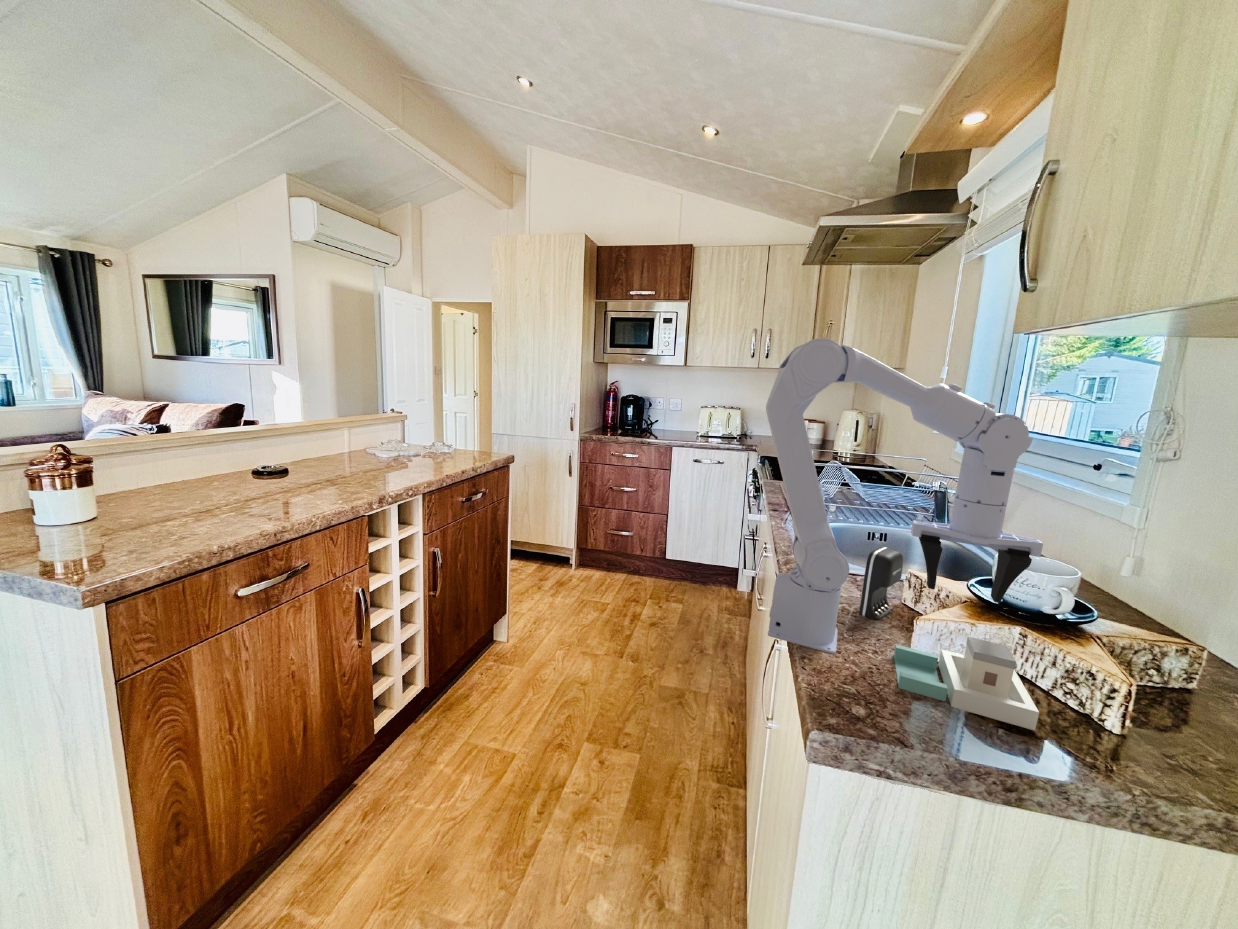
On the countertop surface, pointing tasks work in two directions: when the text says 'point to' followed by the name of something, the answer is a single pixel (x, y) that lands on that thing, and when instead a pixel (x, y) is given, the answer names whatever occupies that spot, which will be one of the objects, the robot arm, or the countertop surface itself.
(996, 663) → the block
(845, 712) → the countertop surface
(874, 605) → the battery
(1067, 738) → the countertop surface
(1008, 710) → the tray
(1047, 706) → the countertop surface
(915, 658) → the holder
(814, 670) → the countertop surface
